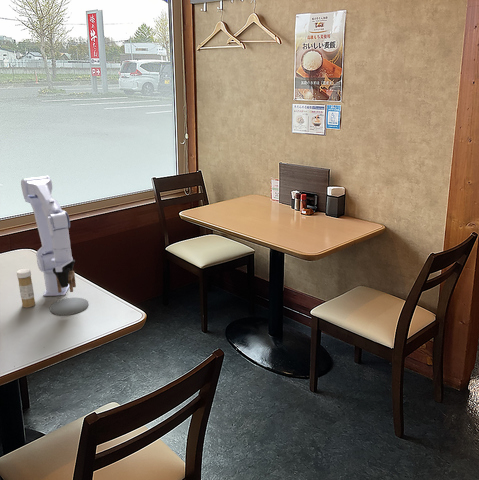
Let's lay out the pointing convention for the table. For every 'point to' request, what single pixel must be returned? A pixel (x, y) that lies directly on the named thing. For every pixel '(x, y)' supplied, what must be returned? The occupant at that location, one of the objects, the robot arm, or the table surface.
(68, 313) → the mat
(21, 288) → the sprinkles bottle
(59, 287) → the stool
